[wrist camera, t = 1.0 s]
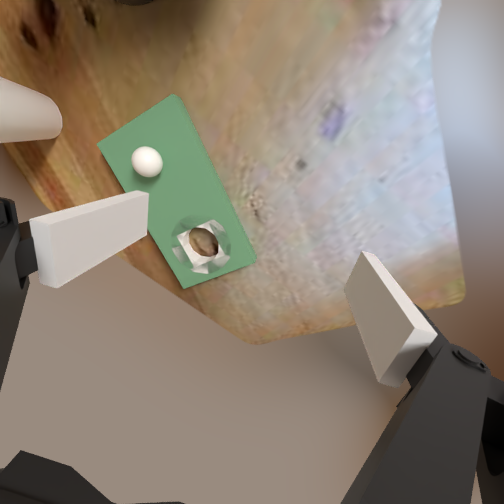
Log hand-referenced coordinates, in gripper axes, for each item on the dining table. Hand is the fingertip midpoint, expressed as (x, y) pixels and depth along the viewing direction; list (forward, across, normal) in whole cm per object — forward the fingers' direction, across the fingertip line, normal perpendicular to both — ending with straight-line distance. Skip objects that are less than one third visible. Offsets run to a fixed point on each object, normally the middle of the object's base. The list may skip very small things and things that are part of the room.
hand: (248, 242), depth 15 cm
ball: (+20, -18, 0) cm, 26 cm away
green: (+24, -13, -6) cm, 28 cm away
